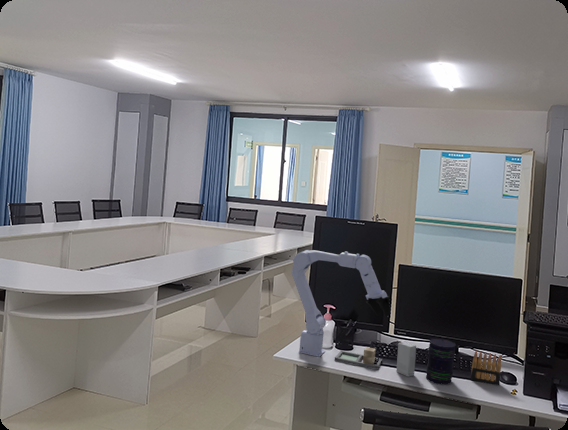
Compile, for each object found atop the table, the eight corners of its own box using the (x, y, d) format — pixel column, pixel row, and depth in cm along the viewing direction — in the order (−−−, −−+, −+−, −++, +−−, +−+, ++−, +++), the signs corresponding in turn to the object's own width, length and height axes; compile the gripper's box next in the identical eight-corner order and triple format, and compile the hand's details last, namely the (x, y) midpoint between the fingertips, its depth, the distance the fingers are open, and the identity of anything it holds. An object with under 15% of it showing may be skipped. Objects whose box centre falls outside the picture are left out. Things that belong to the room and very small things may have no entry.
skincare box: (414, 375, 207) (417, 345, 205) (407, 377, 204) (410, 347, 203) (402, 369, 211) (405, 340, 210) (395, 371, 208) (398, 342, 207)
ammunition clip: (470, 380, 206) (473, 350, 205) (470, 378, 208) (473, 349, 207) (499, 385, 203) (503, 355, 202) (499, 383, 205) (502, 354, 203)
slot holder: (334, 360, 216) (334, 357, 216) (340, 353, 225) (341, 350, 225) (377, 369, 209) (377, 366, 209) (382, 361, 219) (382, 358, 219)
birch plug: (362, 363, 214) (364, 349, 214) (364, 360, 218) (366, 346, 218) (372, 365, 213) (373, 351, 213) (374, 362, 217) (375, 348, 216)
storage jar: (451, 386, 198) (455, 348, 196) (424, 381, 201) (428, 344, 199) (451, 377, 207) (455, 341, 206) (426, 372, 210) (430, 336, 209)
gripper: (388, 278, 208) (400, 311, 207) (371, 281, 221) (382, 311, 220) (373, 285, 205) (386, 317, 204) (357, 287, 219) (369, 317, 218)
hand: (383, 315), depth 212 cm, fingers open, 7 cm apart
